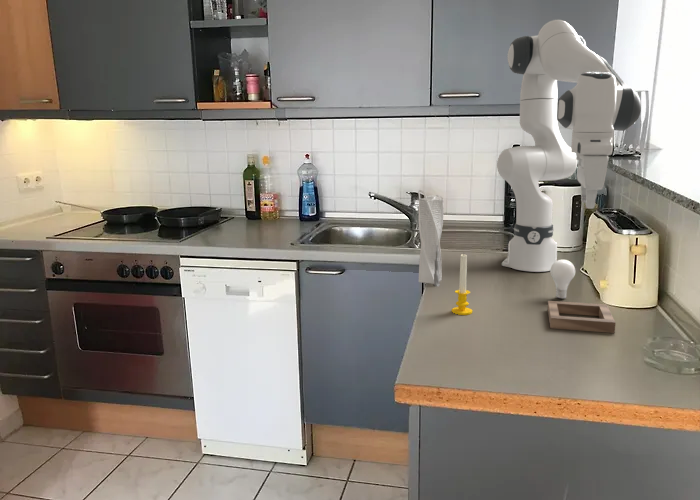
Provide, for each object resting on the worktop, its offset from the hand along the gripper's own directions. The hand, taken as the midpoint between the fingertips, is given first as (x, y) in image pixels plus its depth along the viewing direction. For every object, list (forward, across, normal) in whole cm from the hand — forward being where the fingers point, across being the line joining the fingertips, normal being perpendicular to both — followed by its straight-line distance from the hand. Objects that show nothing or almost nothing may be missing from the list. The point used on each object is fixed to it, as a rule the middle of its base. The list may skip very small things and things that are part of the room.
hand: (587, 205), depth 140 cm
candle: (+29, 0, -28) cm, 40 cm away
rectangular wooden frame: (+28, 0, 0) cm, 28 cm away
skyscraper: (+29, -25, -40) cm, 55 cm away
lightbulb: (+29, -18, -3) cm, 34 cm away
